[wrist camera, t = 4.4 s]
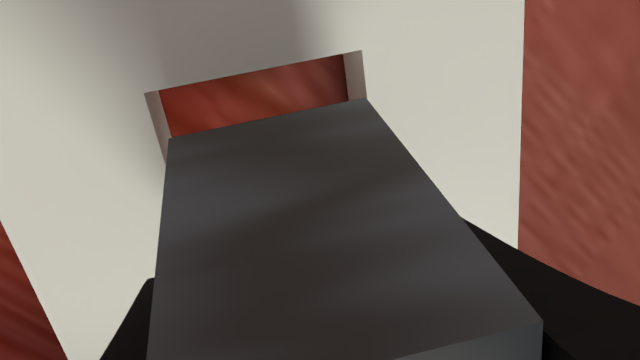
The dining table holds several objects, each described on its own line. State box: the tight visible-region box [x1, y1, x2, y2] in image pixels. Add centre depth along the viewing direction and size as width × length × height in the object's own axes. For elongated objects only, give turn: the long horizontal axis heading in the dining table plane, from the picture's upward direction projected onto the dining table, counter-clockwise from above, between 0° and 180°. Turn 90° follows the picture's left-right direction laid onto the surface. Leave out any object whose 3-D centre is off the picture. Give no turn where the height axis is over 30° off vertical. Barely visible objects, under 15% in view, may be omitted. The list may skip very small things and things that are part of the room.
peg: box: [146, 98, 543, 360], centre depth 10 cm, size 4×4×8 cm
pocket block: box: [0, 0, 525, 360], centre depth 16 cm, size 14×14×2 cm
